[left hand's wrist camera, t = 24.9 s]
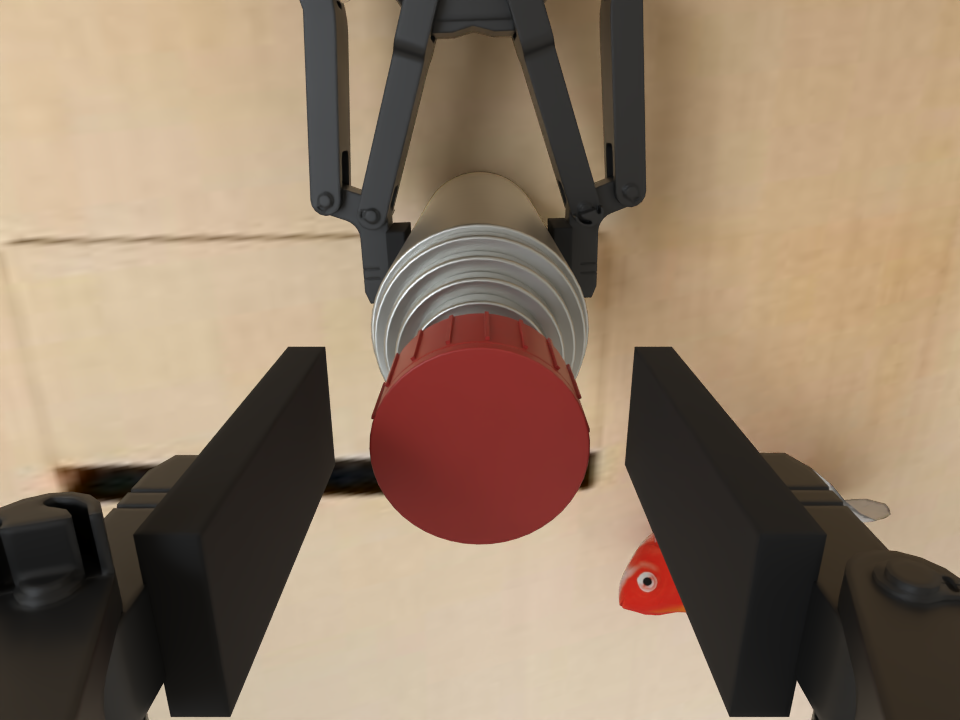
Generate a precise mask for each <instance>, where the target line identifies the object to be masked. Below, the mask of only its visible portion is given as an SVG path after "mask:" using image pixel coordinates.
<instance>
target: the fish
mask: <svg viewBox="0 0 960 720" xmlns="http://www.w3.org/2000/svg"><path fill="white" fill-rule="evenodd" d="M815 472H816V471H815ZM816 473H817V472H816ZM817 474H818V473H817ZM818 475H819V474H818ZM819 477H820V478H821V479H822V480H823V481H824V482H825V483H826V484H827V485H828V486H829V490H833V491H834V492H835V494H836V495H837V496H838V497H839V498H840V499H841V500H842V501H843V505H844V506H848V507H849V508H850V510H851V511H852V512H853V513H854V514H855V515H856V516H857V517H858V518H859V519H860V520H861V521H862V522H872V521H877V520H880V519H884V518H886V517H888V516H889V515H890V510H889V508H888V507H887V505H886V504H884V503H880V502H876V501H872V500H868V499H852V500H844V499H843V498H842V497H841V496H840V494H839V493H838V492H837V491H836V490H835V488H834V487H833V486H832V485H831V484H830V483H829V482H827V481H826V480H825V479H824V478H823V477H821V476H820V475H819ZM619 603H620V606H622V607H623V608H624V609H627V610H631V611H635V612H638V613H642V614H645V615H663V614H668V613H674V612H686V610H685V608H684V606H683V603H682V601H681V598H680V596H679V594H678V591H677V589H676V586H675V584H674V582H673V579H672V577H671V574H670V572H669V570H668V567H667V565H666V562H665V560H664V557H663V555H662V553H661V550H660V548H659V545H658V543H657V541H656V538H655V536H654V533H652V534H651V535H650V536H648V537H647V538H646V539H645V540H644V542H643V543H642V544H641V545H640V546H639V548H638V549H637V551H636V552H635V554H634V555H633V557H632V559H631V560H630V562H629V564H628V566H627V568H626V570H625V572H624V574H623V576H622V579H621V581H620V586H619Z"/></svg>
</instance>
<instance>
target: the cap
mask: <svg viewBox="0 0 960 720" xmlns="http://www.w3.org/2000/svg"><path fill="white" fill-rule="evenodd" d="M581 398H582V397H581V395H580V392H579V389H578V386H577V383H576V381H575V378H574V375H573V372H572V370H571V367H570V365H569V364H567V365H566V363H565V361H564V360H563V358H562V356H561V355H560V353H559V352H558V351H557V349H556V348H555V347H554V346H553V343H552V340H551V339H550V338H547V339H546V338H545V337H544V336H543V335H542V334H541V333H539V332H538V331H536V330H535V329H533V328H532V327H530V326H528V325H526V324H524V323H523V320H521V319H519V321H517V320H515V319H512V318H509V317H505V316H500V315H496V314H489V312H488V311H485V313H476V314H465V315H459V316H453V315H450V316H449V318H448V319H444V320H442V321H440V322H438V323H435V324H433V325H431V326H430V327H428V328H426V329H425V330H423V331H422V330H421V329H420V330H419V331H418V333H417V336H415V337H414V338H413V339H412V340H411V341H410V342H409V343H408V344H407V345H406V346H405V347H404V348H403V350H402V351H401V353H400V354H398V353H396V355H395V357H394V360H393V363H392V366H391V369H390V371H389V374H388V377H387V380H386V383H385V382H384V383H383V386H382V389H381V391H380V394H379V397H378V400H377V402H376V405H375V408H374V411H373V414H372V417H371V419H374V420H373V423H372V428H371V433H370V457H371V464H372V467H373V471H374V475H375V477H376V479H377V482H378V484H379V486H380V488H381V490H382V492H383V493H384V495H385V497H386V498H387V499H388V501H389V502H390V503H391V504H392V506H393V507H394V508H395V509H396V510H397V511H398V512H399V513H400V514H401V515H402V516H403V517H404V518H406V519H407V520H408V521H409V522H411V523H412V524H413V525H415V526H417V527H418V528H420V529H422V530H424V531H425V532H427V533H430V534H432V535H434V536H437V537H439V538H443V539H446V540H449V541H454V542H459V543H465V544H494V543H501V542H506V541H510V540H514V539H517V538H520V537H523V536H525V535H528V534H530V533H532V532H534V531H536V530H538V529H540V528H541V527H543V526H544V525H546V524H547V523H549V522H550V521H552V520H553V519H554V518H555V517H556V516H557V515H558V514H560V513H561V512H562V511H563V510H564V508H565V507H566V506H567V505H568V504H569V503H570V502H571V500H572V499H573V497H574V496H575V494H576V492H577V491H578V489H579V487H580V485H581V483H582V481H583V479H584V476H585V473H586V469H587V466H588V460H589V454H590V438H589V432H590V428H589V425H588V423H587V420H586V417H585V414H584V411H583V408H582V405H581V403H580V400H579V399H581Z"/></svg>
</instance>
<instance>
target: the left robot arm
mask: <svg viewBox="0 0 960 720" xmlns="http://www.w3.org/2000/svg"><path fill="white" fill-rule="evenodd" d="M334 466H335V458H334V446H333V434H332V422H331V410H330V398H329V386H328V374H327V362H326V350H325V347H288V348H287V349H286V350H285V351H284V353H283V354H282V355H281V356H280V357H279V359H278V360H277V361H276V362H275V364H274V365H273V366H272V367H271V368H270V370H269V371H268V372H267V373H266V374H265V376H264V377H263V378H262V379H261V380H260V382H259V383H258V384H257V385H256V386H255V388H254V389H253V390H252V391H251V393H250V394H249V395H248V396H247V397H246V399H245V400H244V401H243V402H242V403H241V405H240V406H239V407H238V408H237V409H236V411H235V412H234V413H233V414H232V415H231V417H230V418H229V419H228V420H227V421H226V423H225V424H224V425H223V426H222V428H221V429H220V430H219V431H218V432H217V434H216V435H215V436H214V437H213V438H212V440H211V441H210V442H209V443H208V444H207V446H206V447H205V448H204V449H203V450H202V452H201V453H200V454H199V455H175V456H173V457H172V458H170V459H168V460H166V461H165V462H163V463H161V464H159V465H158V466H156V467H154V468H153V469H151V470H149V471H148V472H147V473H146V474H145V475H144V476H143V477H142V478H141V479H140V480H139V482H138V483H137V484H136V485H135V486H134V487H133V488H132V489H131V493H127V494H126V495H125V497H124V498H123V499H122V500H121V501H120V502H119V503H118V504H117V508H113V509H112V510H111V512H110V513H109V514H108V515H107V516H106V517H105V518H103V513H102V509H101V504H100V502H99V501H98V500H96V499H95V498H94V497H92V496H91V495H88V494H82V493H76V492H62V493H48V494H44V495H39V496H35V497H30V498H26V499H22V500H20V501H17V502H14V503H12V504H9V505H6V506H4V507H1V508H0V720H149V719H148V714H147V712H148V710H149V708H150V706H151V704H152V703H153V701H154V699H155V697H156V695H157V694H158V692H159V690H160V688H161V686H162V685H163V683H164V686H165V691H166V696H167V701H168V706H169V710H170V715H171V717H231V714H232V712H233V709H234V707H235V704H236V702H237V700H238V697H239V695H240V692H241V690H242V688H243V685H244V683H245V680H246V678H247V676H248V673H249V671H250V668H251V666H252V664H253V661H254V659H255V656H256V654H257V651H258V649H259V647H260V644H261V642H262V639H263V637H264V635H265V632H266V630H267V627H268V625H269V623H270V620H271V618H272V615H273V613H274V610H275V608H276V606H277V603H278V601H279V598H280V596H281V594H282V591H283V589H284V586H285V584H286V582H287V579H288V577H289V574H290V572H291V570H292V567H293V565H294V562H295V560H296V557H297V555H298V553H299V550H300V548H301V545H302V543H303V541H304V538H305V536H306V533H307V531H308V529H309V526H310V524H311V521H312V519H313V517H314V514H315V512H316V509H317V507H318V504H319V502H320V500H321V497H322V495H323V492H324V490H325V488H326V485H327V483H328V480H329V478H330V476H331V473H332V471H333V468H334ZM625 466H626V468H627V471H628V473H629V476H630V478H631V480H632V483H633V485H634V488H635V490H636V492H637V495H638V497H639V500H640V502H641V504H642V507H643V509H644V512H645V514H646V517H647V519H648V521H649V524H650V526H651V529H652V531H653V533H654V536H655V538H656V541H657V543H658V545H659V548H660V550H661V553H662V555H663V557H664V560H665V562H666V565H667V567H668V570H669V572H670V574H671V577H672V579H673V582H674V584H675V586H676V589H677V591H678V594H679V596H680V598H681V601H682V603H683V606H684V608H685V610H686V613H687V615H688V618H689V620H690V623H691V625H692V627H693V630H694V632H695V635H696V637H697V639H698V642H699V644H700V647H701V649H702V651H703V654H704V656H705V659H706V661H707V664H708V666H709V668H710V671H711V673H712V676H713V678H714V680H715V683H716V685H717V688H718V690H719V692H720V695H721V697H722V700H723V702H724V704H725V707H726V709H727V712H728V714H729V717H789V715H790V710H791V706H792V701H793V696H794V691H795V686H796V682H797V681H798V683H799V685H800V687H801V688H802V690H803V692H804V694H805V695H806V697H807V699H808V701H809V703H810V704H811V706H812V708H813V714H812V719H811V720H960V578H959V577H957V576H956V575H954V574H953V573H951V572H950V571H948V570H947V569H945V568H943V567H941V566H939V565H937V564H934V563H932V562H930V561H928V560H925V559H923V558H921V557H917V556H913V555H909V554H905V553H902V552H898V551H889V550H888V549H887V548H886V547H885V546H884V545H883V544H882V542H881V541H880V540H879V539H878V538H877V537H876V536H875V535H874V534H873V533H872V532H871V531H870V530H869V529H868V528H867V527H866V525H865V524H864V523H863V522H862V521H861V520H860V519H859V518H858V517H857V516H856V515H855V514H854V513H853V512H852V511H851V510H850V508H849V507H848V506H844V505H843V501H842V500H841V499H840V498H839V497H838V496H837V495H836V494H835V492H834V491H833V490H829V486H828V485H827V484H826V483H825V482H824V481H823V480H822V479H821V478H820V477H819V475H818V474H817V473H816V472H815V471H814V470H813V469H812V468H810V467H808V466H807V465H805V464H803V463H801V462H800V461H798V460H796V459H794V458H793V457H791V456H789V455H787V454H786V453H759V452H758V450H757V449H756V448H755V447H754V446H753V444H752V443H751V442H750V441H749V440H748V438H747V437H746V436H745V435H744V434H743V432H742V431H741V430H740V429H739V428H738V426H737V425H736V424H735V423H734V421H733V420H732V419H731V418H730V417H729V415H728V414H727V413H726V412H725V411H724V409H723V408H722V407H721V406H720V405H719V403H718V402H717V401H716V400H715V399H714V397H713V396H712V395H711V394H710V393H709V391H708V390H707V389H706V388H705V386H704V385H703V384H702V383H701V382H700V380H699V379H698V378H697V377H696V376H695V374H694V373H693V372H692V371H691V370H690V368H689V367H688V366H687V365H686V364H685V362H684V361H683V360H682V359H681V357H680V356H679V355H678V354H677V353H676V351H675V350H674V349H673V348H672V347H635V350H634V362H633V374H632V386H631V398H630V410H629V422H628V434H627V446H626V458H625Z"/></svg>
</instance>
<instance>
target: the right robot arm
mask: <svg viewBox="0 0 960 720" xmlns="http://www.w3.org/2000/svg"><path fill="white" fill-rule="evenodd" d="M348 1H350V0H300V3H301V6H302V8H303V20H304V46H305V71H306V97H307V122H308V148H309V173H310V199H311V204H312V207H313V208H314V210H315V211H316V212H318V213H319V214H321V215H325V216H328V215H331V216H334V217H337V218H340V219H343V220H346V221H348V222H351V223H352V224H353V225H354V226H355V227H356V228H357V229H358V231H359V233H360V238H361V249H362V260H363V269H364V283H365V293H366V295H367V297H368V299H369V301H370V303H371V304H372V303H374V302H375V297H376V295H377V292H378V290H379V287H380V285H381V283H382V281H383V279H384V277H385V276H386V274H387V272H388V270H389V269H390V267H391V265H392V264H393V262H394V260H395V259H396V257H397V255H398V253H399V252H400V250H401V248H402V247H403V245H404V243H405V242H406V240H407V238H408V236H409V235H410V233H411V222H403V223H393V221H392V215H393V213H394V211H395V210H394V206H395V202H396V197H397V193H398V189H399V185H400V181H401V177H402V173H403V169H404V165H405V161H406V157H407V153H408V149H409V145H410V141H411V136H412V132H413V128H414V124H415V120H416V116H417V112H418V108H419V104H420V100H421V96H422V92H423V88H424V84H425V80H426V75H427V71H428V68H429V64H430V62H431V59H432V55H433V51H434V47H435V43H436V39H448V38H457V37H460V36H463V35H466V34H469V33H472V32H476V33H480V34H484V35H487V36H491V37H512V40H513V43H514V46H515V50H516V53H517V56H518V58H519V61H520V63H521V66H522V69H523V72H524V76H525V79H526V82H527V85H528V89H529V92H530V95H531V99H532V102H533V105H534V108H535V112H536V115H537V118H538V121H539V125H540V128H541V131H542V134H543V138H544V141H545V144H546V147H547V151H548V154H549V157H550V160H551V164H552V167H553V170H554V173H555V177H556V180H557V183H558V186H559V190H560V193H561V196H562V199H563V203H564V206H565V208H566V210H565V218H548V232H549V233H550V235H551V237H552V238H553V240H554V242H555V244H556V245H557V247H558V249H559V250H560V252H561V254H562V255H563V257H564V259H565V261H566V262H567V264H568V266H569V267H570V269H571V271H572V272H573V274H574V276H575V278H576V280H577V282H578V284H579V286H580V288H581V290H582V293H583V296H584V298H586V297H592V295H593V292H594V290H595V288H596V279H597V248H598V228H599V225H600V223H601V221H602V220H603V218H605V217H606V216H607V215H608V214H610V213H613V212H615V211H618V210H620V209H623V208H625V207H633V206H637V205H638V204H639V203H641V202H642V201H643V199H644V197H645V193H646V159H645V100H644V41H643V0H601V8H600V50H601V77H602V104H603V131H604V158H605V179H603V180H600V181H598V182H595V183H594V181H593V178H592V174H591V171H590V167H589V164H588V160H587V157H586V153H585V150H584V146H583V143H582V140H581V136H580V133H579V129H578V126H577V122H576V119H575V115H574V112H573V108H572V105H571V101H570V98H569V95H568V91H567V88H566V84H565V81H564V77H563V74H562V70H561V67H560V63H559V60H558V56H557V53H556V49H555V44H554V38H553V33H552V29H551V26H550V22H549V19H548V15H547V12H546V9H545V5H544V3H545V2H546V0H396V1H397V2H398V4H399V5H400V6H401V12H400V16H399V20H398V25H397V29H396V34H395V39H394V47H393V55H392V60H391V64H390V69H389V73H388V77H387V82H386V86H385V91H384V95H383V99H382V104H381V108H380V112H379V117H378V121H377V126H376V130H375V134H374V139H373V143H372V148H371V152H370V156H369V161H368V165H367V170H366V174H365V178H364V183H363V187H362V190H361V189H358V188H355V187H352V186H351V161H350V107H349V54H348V25H347V17H346V11H345V7H344V3H346V2H348Z"/></svg>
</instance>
